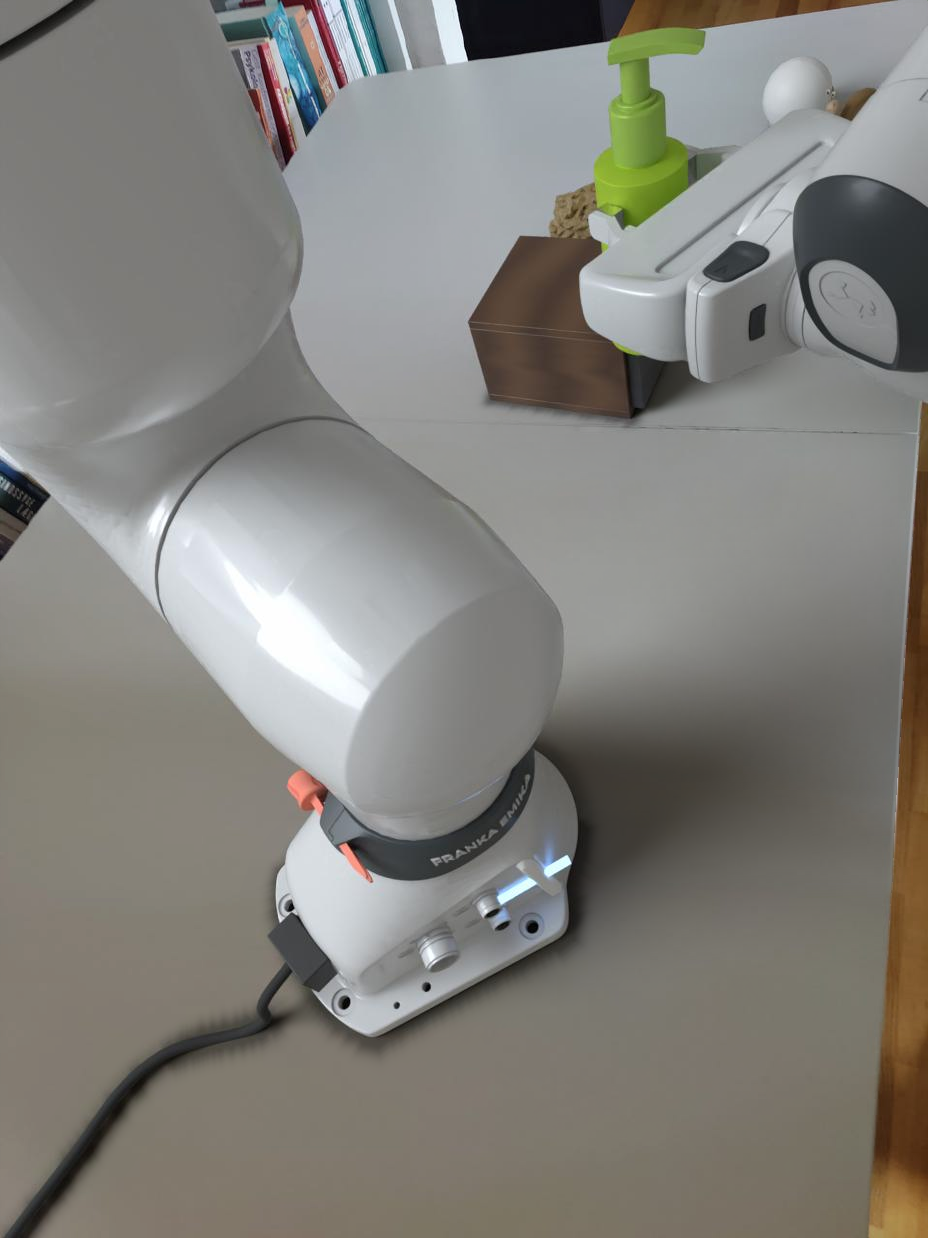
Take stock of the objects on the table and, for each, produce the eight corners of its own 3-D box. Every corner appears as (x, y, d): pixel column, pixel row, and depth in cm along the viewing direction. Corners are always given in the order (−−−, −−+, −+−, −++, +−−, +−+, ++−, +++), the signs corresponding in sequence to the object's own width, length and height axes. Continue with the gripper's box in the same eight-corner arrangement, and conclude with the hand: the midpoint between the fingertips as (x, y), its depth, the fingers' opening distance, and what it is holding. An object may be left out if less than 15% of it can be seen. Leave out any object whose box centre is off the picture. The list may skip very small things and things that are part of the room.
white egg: (834, 139, 95) (841, 69, 89) (763, 151, 97) (766, 84, 91) (823, 92, 100) (830, 24, 94) (756, 105, 102) (759, 38, 96)
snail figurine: (799, 200, 90) (809, 82, 81) (849, 172, 91) (865, 51, 81) (835, 221, 87) (850, 100, 78) (886, 192, 88) (908, 68, 78)
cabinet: (671, 328, 84) (666, 241, 77) (630, 419, 79) (621, 335, 71) (536, 316, 90) (519, 234, 83) (489, 399, 85) (467, 321, 77)
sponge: (561, 287, 94) (748, 233, 85) (537, 218, 89) (733, 153, 80) (580, 234, 102) (753, 180, 93) (559, 169, 97) (739, 105, 88)
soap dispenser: (701, 353, 62) (701, 53, 46) (606, 357, 64) (574, 72, 48) (706, 301, 65) (707, 4, 49) (615, 307, 67) (588, 24, 51)
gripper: (941, 108, 48) (745, 60, 56) (685, 310, 44) (513, 228, 52) (919, 211, 53) (743, 154, 61) (689, 401, 49) (531, 314, 57)
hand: (635, 190), depth 56 cm, fingers closed on soap dispenser, 6 cm apart
